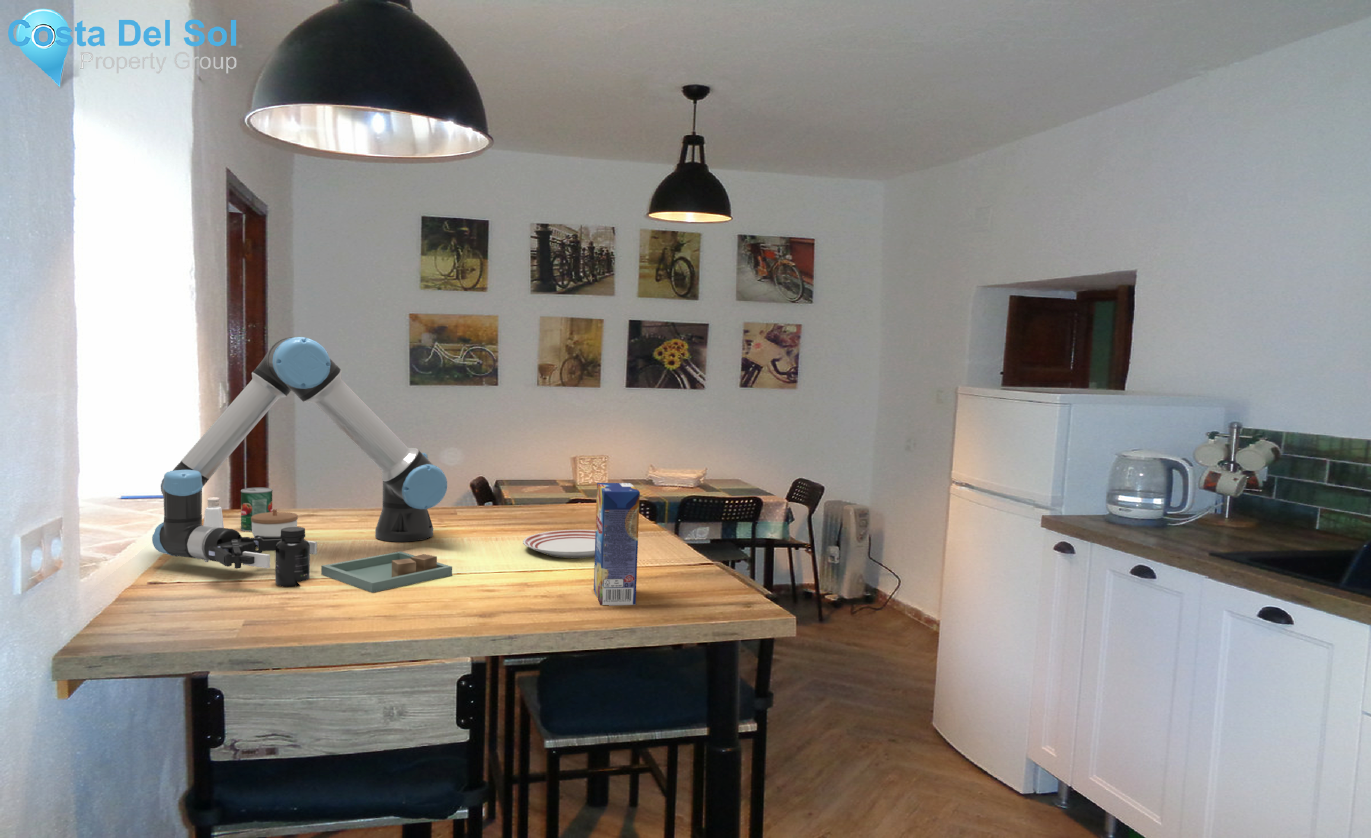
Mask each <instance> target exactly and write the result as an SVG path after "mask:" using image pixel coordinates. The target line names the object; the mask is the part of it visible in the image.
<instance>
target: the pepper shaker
mask: <svg viewBox="0 0 1371 838" xmlns="http://www.w3.org/2000/svg"><path fill="white" fill-rule="evenodd" d="M206 501H207V507H204V509H205V510H204V517H203V523H202V525H204V526H213V527H220V528H225V525H224V516H223V509H222V507H221V506H220V497H217V496H215V497H213V496H212V497H208V498H207V499H206Z"/></svg>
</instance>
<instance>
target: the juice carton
mask: <svg viewBox="0 0 1371 838" xmlns="http://www.w3.org/2000/svg"><path fill="white" fill-rule="evenodd" d="M640 493H641V492H640V490H639V489H637V488H636V486H635V485H633V484H632V483H631V482H596V505H595V507H596V509H595V511H596V512H595V530H596V534H595V557H594V566H593V567H594V570H593V591H594V594H595V596H596V599H597V598H598V599H597V601H598V603H599V606H600V605H609V606H636V605H637V603H636V602H637V576H638V574H637V573H638V553H639V552H638V551H639V550H638V549H639V548H638V545H639V525H640V524H639V523H640V522H639V521H640V519H639V518H640V497H641V496H640Z"/></svg>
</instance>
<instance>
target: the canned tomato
mask: <svg viewBox="0 0 1371 838" xmlns="http://www.w3.org/2000/svg"><path fill="white" fill-rule="evenodd" d="M272 510H273V488H270V487H247V488H242V489H241V490H240V531H241V532H245V531H249V532H248V533H251V532H250V531H252V521H251V517H252V516H253V515H256V514H260V513H268V512H272Z"/></svg>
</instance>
